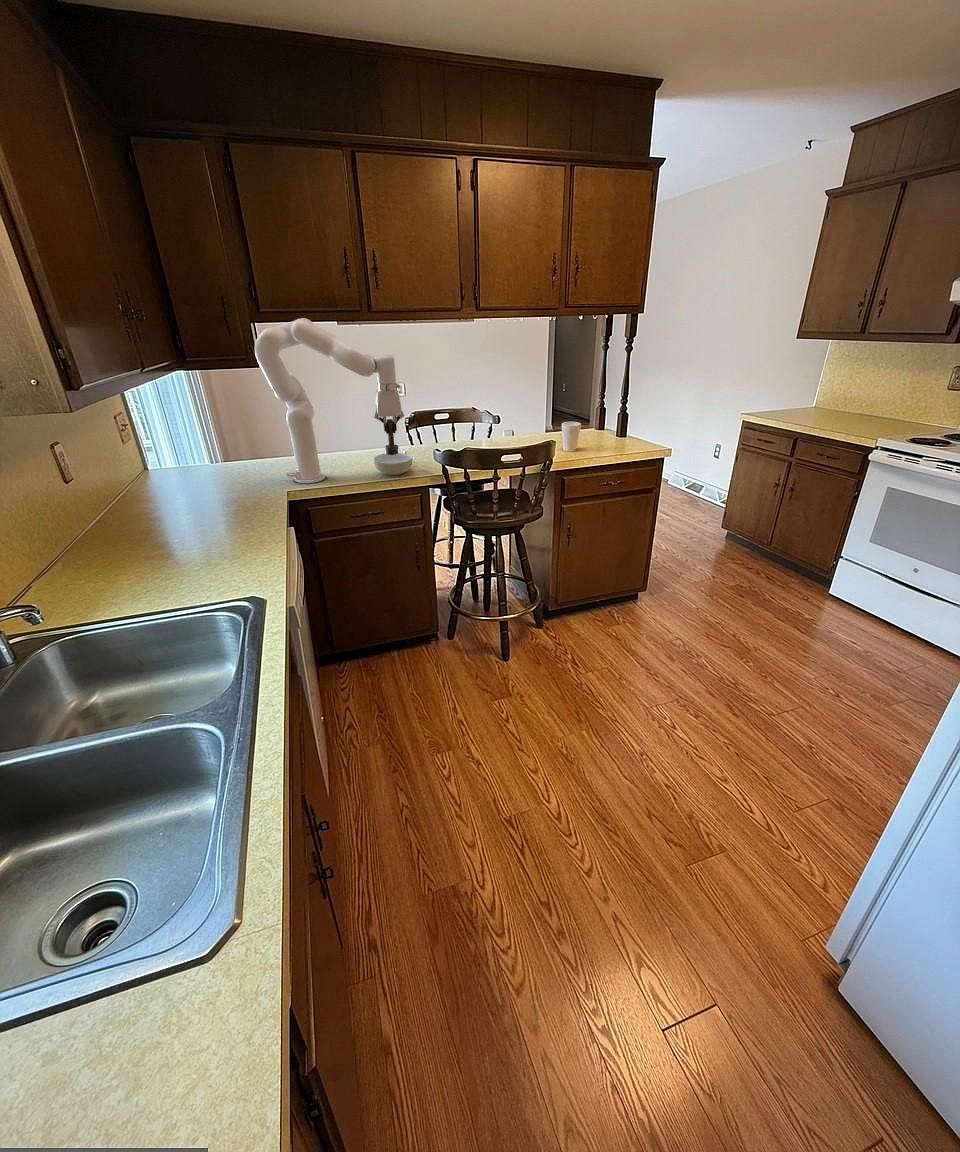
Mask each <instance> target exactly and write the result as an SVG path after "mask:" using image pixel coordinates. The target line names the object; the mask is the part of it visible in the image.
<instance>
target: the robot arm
mask: <svg viewBox="0 0 960 1152" xmlns="http://www.w3.org/2000/svg"><path fill="white" fill-rule="evenodd" d="M299 345H303V346H305V347H308V348H309V349H311V350H313V351H315V352H317V353H319V354H320V355H323V356H325V357H326V358H328V359H330V360H331V361H333V362H335V363H336V364H339V366H341V367H343V368H346V369H347V370H349V371H351V372H353V373H355V374H357V375H359V376H361V377H365V378H366V377H371V376H372V375H373V374H376V382H377V390H376V391H375V413H374V416H373V418H374V419H375V420H378V421H380V422H381V423H382V424H383V431H384V433H386V435H388V433H389V432H388V424H387V418H389V417H392V420H393V433H394V434H396V433H397V431H398V427H397V426H398V425H397V424H398V422H399V421H400V420H401V419H403V418H404V417H405V414H404V412H403V410H402V403H401V398H400V397H401V396H400V393H399V390H398V389H400V388H401V386H400V383H397V378H396V377H397V376H396V364H395V363H396V362H395V357H394V356H393V355H391V354H368V353H364V354H363V353H361V352H359V351H357V350H356V349H354V348H352V347H350V346H349V345H347V344H345V343H344V342H343V340H341V339H340V338H339V337H338V336H337V335H335V334H333V333H331V332H329V331H327V330H325V329H323V328H321V327H320V326H318V325H317V324H314V323H313V321H312V320H310V319H308V318H306V317H301V318H297V319H295V320H291V321H289V322H285V323H283V324H282V323H281V324H277V325H275V326H269V327H267V328H265V329H263V330H262V331H261V332H260V333H259V334H258V336H257V338H256V340H255V342H254V355H255V358H256V360H257V363H258V365H259V367H260V369H261V370H262V373H263V375H264V377H265V378H266V380H267V382H268V384H269V386H270V387H271V389H272V391H273V393H274V395H275V397H276V398H277V399H278V400H279V401H280V402H283V403H285V405H286V406H287V408H288V409H287V411H286V414H285V415H286V416H285V417H286V424H287V428H288V430H289V435H290V440H291V445H292V450H293V456H294V460H295V461H294V462H295V466H296V469H295V470H293V471H286V477H288V478H294V481H295V482H297V483H298V484H315V483H319V482H321V481H324V480H325V479H326V475H325V474H324V473H323V472H321V465H320V459H319V453H318V447H317V442H316V436H315V431H314V427H313V418H314V417H315V409H314V406H313V404H312V402H311V401H310V399H309V396H308V395H307V393H306V391H305V389H304V388H303V385H302V384H301V382H300V381H299V379H298V378H297V377H295V376H293V374H292V375H291V374H290V373H289V371H288V369H287V367H286V365H285V363H284V362H283V360H282V359H281V357H280V355H279V353H280V352H281V351H283V350H286V349H289V348H292V347H295V346H299Z"/></svg>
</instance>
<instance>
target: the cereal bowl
mask: <svg viewBox="0 0 960 1152" xmlns="http://www.w3.org/2000/svg"><path fill="white" fill-rule="evenodd" d="M373 465H374V468H375V469H376V470H377V471H379V472H380V473H382V474H385V475H387V476H400V475H402V474H403V473H406V472H408V471H409V470H410V469H411V468H412V466H413V456H412V455H411V454H408V453H407V454H406V453H403V452H398V454H396V455H388V454H386V453H385V452H384V453H381V454H377V455H376V456H374V457H373Z"/></svg>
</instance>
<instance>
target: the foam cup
mask: <svg viewBox="0 0 960 1152" xmlns="http://www.w3.org/2000/svg"><path fill="white" fill-rule="evenodd" d="M581 429H582V423H581V422H578V421H564V422H562V423H561V437H562V450H563V451H565V452H576V451H577V446H578V441H579V437H580V432H581Z"/></svg>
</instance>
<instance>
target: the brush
mask: <svg viewBox="0 0 960 1152" xmlns="http://www.w3.org/2000/svg"><path fill="white" fill-rule="evenodd" d="M386 422H387V424H388V432H389V433H388V434H387V439H388V444H386V445H385V446H384V449H385V451H386V454H388V455H396V454H398V453H399V445H398V444H395V436H394V435H395V433H393V418H386Z"/></svg>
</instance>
